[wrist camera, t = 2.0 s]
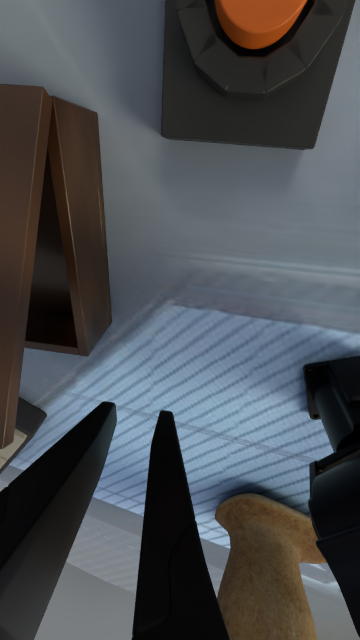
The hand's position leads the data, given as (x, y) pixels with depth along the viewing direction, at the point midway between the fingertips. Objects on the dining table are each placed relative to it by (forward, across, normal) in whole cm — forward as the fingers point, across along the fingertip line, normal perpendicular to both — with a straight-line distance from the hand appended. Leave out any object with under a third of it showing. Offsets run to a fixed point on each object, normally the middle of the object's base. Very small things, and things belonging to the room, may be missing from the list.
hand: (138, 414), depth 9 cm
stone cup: (+13, -14, +33) cm, 38 cm away
